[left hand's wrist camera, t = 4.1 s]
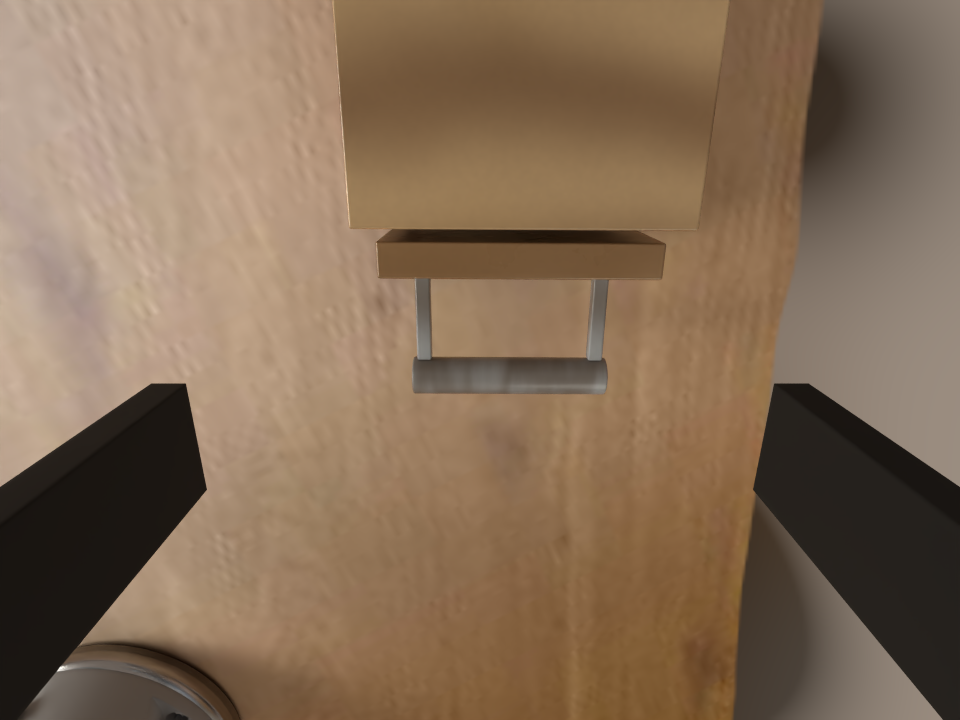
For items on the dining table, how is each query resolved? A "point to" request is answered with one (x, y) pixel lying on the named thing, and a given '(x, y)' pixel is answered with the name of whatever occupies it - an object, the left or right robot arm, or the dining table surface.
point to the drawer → (515, 259)
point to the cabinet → (527, 112)
